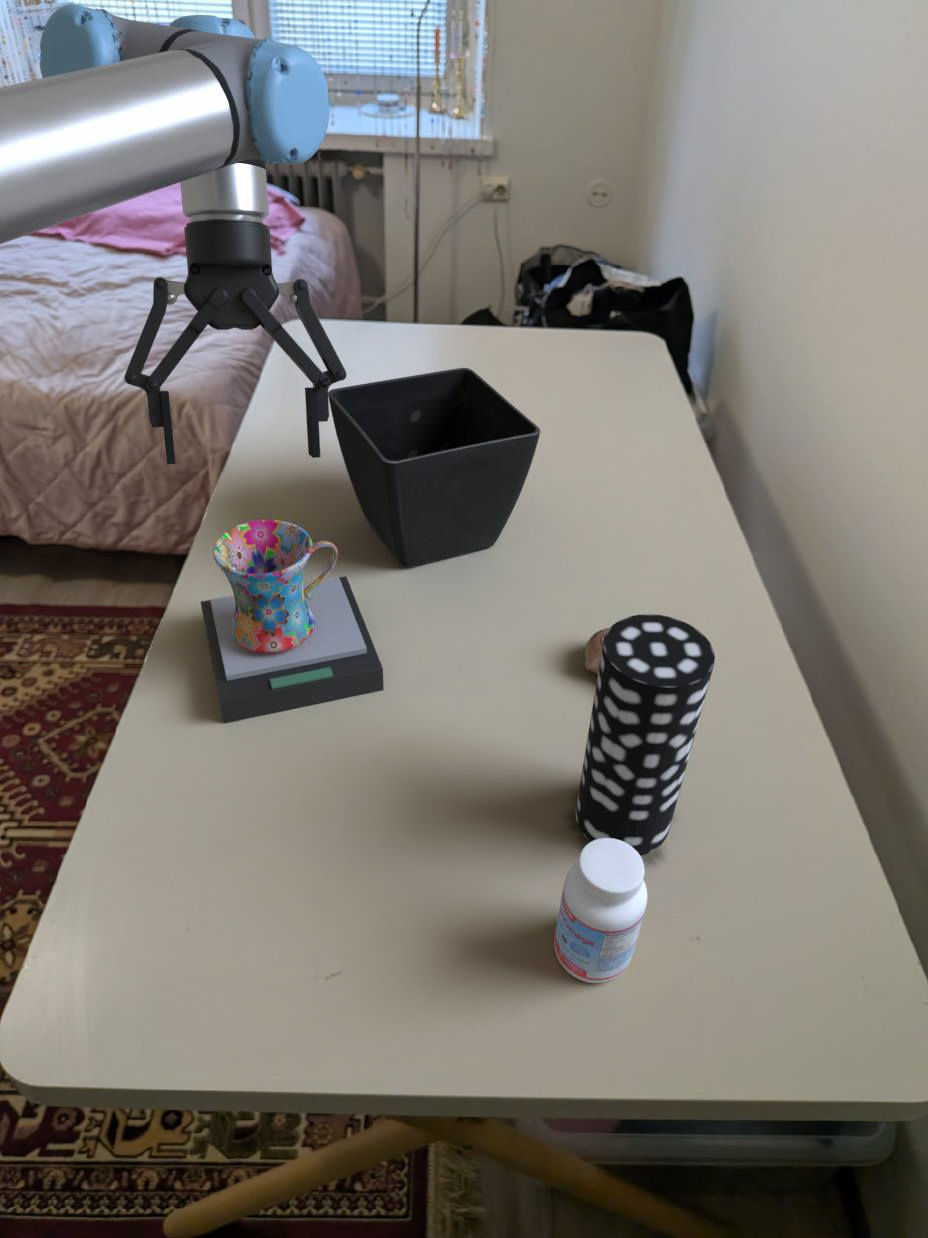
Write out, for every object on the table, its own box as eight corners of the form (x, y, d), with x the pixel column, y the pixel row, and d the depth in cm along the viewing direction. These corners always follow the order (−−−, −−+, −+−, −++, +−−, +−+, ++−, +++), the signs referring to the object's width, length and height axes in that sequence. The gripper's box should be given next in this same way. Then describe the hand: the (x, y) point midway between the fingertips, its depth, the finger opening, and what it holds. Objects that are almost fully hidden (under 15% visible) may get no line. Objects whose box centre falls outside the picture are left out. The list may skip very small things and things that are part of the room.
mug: (243, 672, 90) (228, 585, 83) (216, 617, 96) (201, 532, 89) (358, 638, 94) (353, 552, 88) (325, 587, 101) (318, 504, 94)
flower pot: (464, 479, 126) (468, 362, 115) (533, 553, 113) (545, 429, 102) (333, 510, 119) (324, 389, 109) (390, 592, 106) (386, 464, 96)
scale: (224, 723, 90) (218, 695, 87) (204, 622, 101) (199, 595, 99) (383, 690, 94) (382, 662, 92) (347, 596, 106) (345, 570, 103)
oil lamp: (572, 698, 95) (649, 717, 93) (575, 673, 92) (655, 692, 90) (590, 636, 101) (663, 653, 99) (593, 611, 98) (669, 627, 96)
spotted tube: (677, 857, 79) (726, 688, 66) (581, 856, 79) (611, 687, 66) (660, 782, 86) (701, 614, 73) (570, 781, 85) (596, 613, 73)
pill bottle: (540, 930, 73) (553, 842, 66) (608, 906, 75) (627, 818, 68) (575, 998, 69) (593, 912, 62) (646, 971, 71) (671, 885, 64)
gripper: (354, 229, 90) (362, 448, 97) (80, 221, 83) (108, 459, 89) (371, 221, 84) (379, 458, 90) (74, 212, 76) (105, 470, 83)
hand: (244, 459), depth 90 cm, fingers open, 13 cm apart
